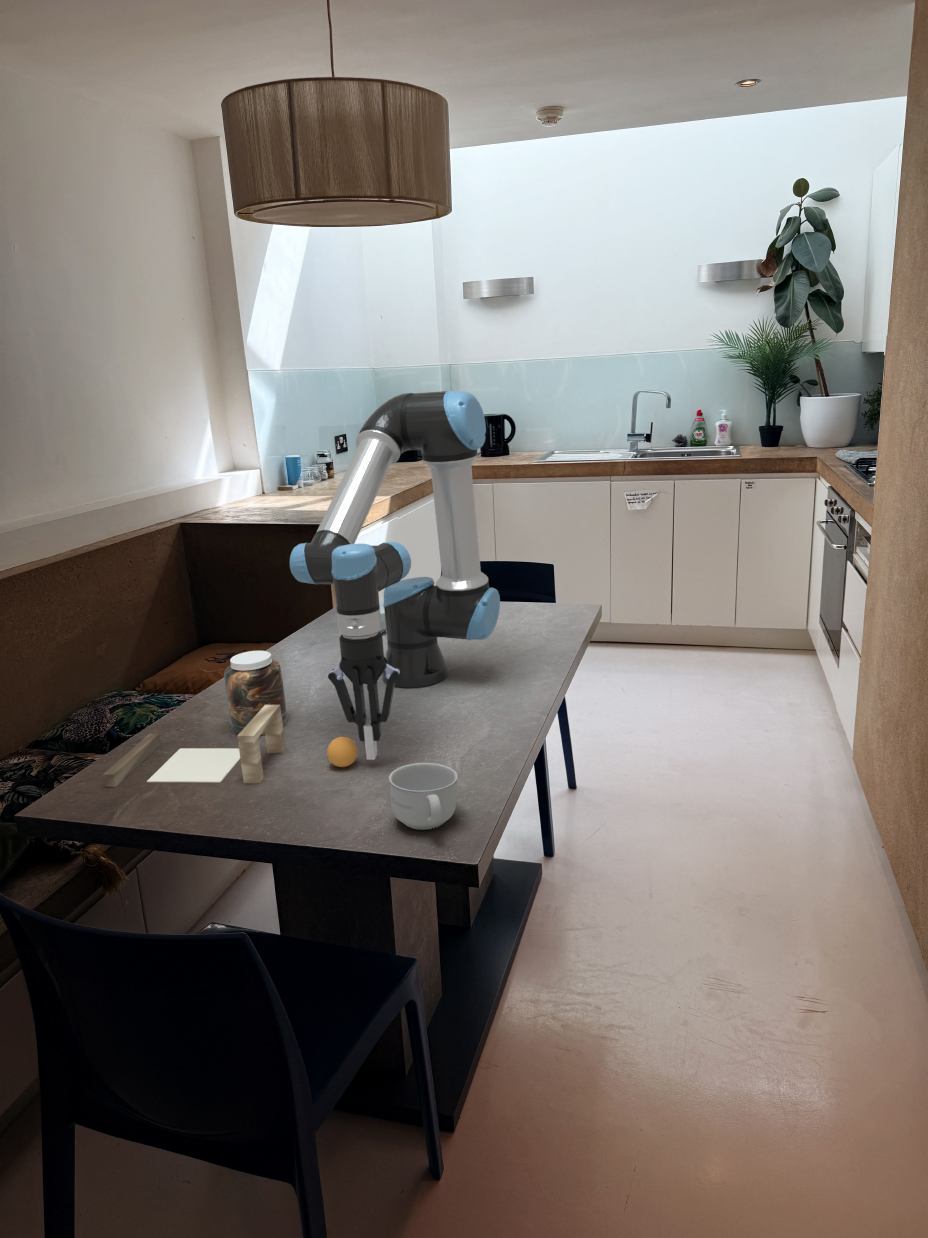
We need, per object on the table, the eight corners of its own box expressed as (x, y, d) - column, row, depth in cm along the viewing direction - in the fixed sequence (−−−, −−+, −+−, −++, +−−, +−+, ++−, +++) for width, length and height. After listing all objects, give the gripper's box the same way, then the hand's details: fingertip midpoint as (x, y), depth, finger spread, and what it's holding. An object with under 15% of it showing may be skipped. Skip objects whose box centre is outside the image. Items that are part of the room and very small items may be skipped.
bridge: (285, 748, 169) (280, 704, 166) (259, 783, 155) (253, 735, 153) (270, 748, 169) (265, 704, 167) (243, 783, 156) (237, 736, 153)
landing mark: (248, 749, 170) (248, 748, 170) (220, 782, 156) (220, 781, 156) (180, 749, 172) (180, 748, 172) (146, 782, 158) (146, 781, 158)
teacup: (392, 807, 144) (388, 763, 142) (457, 801, 145) (454, 757, 143) (392, 851, 131) (388, 803, 129) (464, 844, 131) (461, 797, 129)
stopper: (160, 745, 174) (158, 733, 173) (115, 787, 157) (113, 774, 156) (151, 745, 174) (149, 733, 174) (105, 787, 157) (102, 774, 157)
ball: (361, 759, 163) (359, 732, 161) (354, 772, 157) (351, 744, 156) (333, 759, 163) (330, 732, 162) (325, 772, 158) (322, 744, 156)
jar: (226, 721, 185) (217, 654, 180) (281, 710, 189) (273, 644, 185) (235, 741, 174) (225, 670, 170) (293, 729, 178) (285, 660, 174)
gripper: (318, 640, 150) (332, 766, 156) (393, 638, 148) (404, 765, 155) (329, 628, 157) (341, 748, 163) (400, 625, 155) (410, 747, 162)
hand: (372, 756), depth 159 cm, fingers closed
